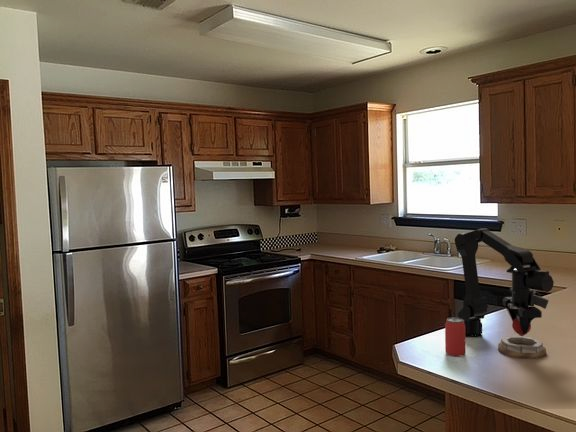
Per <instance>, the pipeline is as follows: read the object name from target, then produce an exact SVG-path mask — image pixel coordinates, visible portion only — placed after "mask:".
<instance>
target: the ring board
mask: <svg viewBox="0 0 576 432" xmlns="http://www.w3.org/2000/svg"><path fill="white" fill-rule="evenodd" d="M497 350H498V352H499V353H501V354H503V355H505V356H508V357H512V358H517V359H526V360H533V359H536V360H537V359H541V358H544V357H546V356H547V349H546V347H545V346H544V343H543V342H542V341H541V340H539V339H537V338H534V337H528V336H525V335H524V336H520V335H508V336H505V337H503V338H501V339H500V342H499V343H498V344H497Z"/></svg>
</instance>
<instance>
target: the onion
mask: <svg viewBox="0 0 576 432" xmlns="http://www.w3.org/2000/svg"><path fill="white" fill-rule="evenodd" d="M511 326H512V329H513V331H514V332H515V333H516V334H518V336H524V337H525V335H526V334H523V332H522V330H521V327H520V324H519V321H518V318H517V317H516V318H515V319H514V321H512V324H511ZM531 329H532V323H530V326H529V329H528V332H527V334H528V333H529V332H530V331H531Z"/></svg>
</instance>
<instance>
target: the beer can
mask: <svg viewBox="0 0 576 432" xmlns="http://www.w3.org/2000/svg"><path fill="white" fill-rule="evenodd" d="M463 321H464V320H463V319H460V318H459V317H448V318H446V322H445V324H444V337H445V341H444V342H445V344H444V345H445V353H446V354H447V355H448V356H450V357H451V356H452V357H459V358H460V357H462V356H463V357H464V356H465V355H466V353H467V349H466V348H467V347H466V336H465V324H464V322H463Z"/></svg>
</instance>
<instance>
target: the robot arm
mask: <svg viewBox="0 0 576 432" xmlns="http://www.w3.org/2000/svg"><path fill="white" fill-rule="evenodd" d="M479 243H483V244H485V245H487V246H488V247H489V248H491V249H493V251H496V252H497V253H499V254H500V255H501V256H503V259H504V261H505V262H506V263H507V264H508V265H509V266H510V267H509V268H508V269H506V273H508V274H509V273H510V274H511V288H509V292H511V296H505V297H504V298H503V299H502V305H503V306H504V307H505V310H506V311H507V312H508V315H509V317H510V319H511V322H513V321H514V319H515V318H516V317H517V318H518V321H519V324H520V327H521V330H522V332H523V334H525V335H527V334H528V333H529V332H528V329H529V326H530V323H531V322H532V321H533V320H535V319H540V318H541V319H542V317H543V313H542V312H543V311H542V310H540V308H542V309H547V307H548V303H549V299H547V298H545V297H542V296H541V294H540V293H539V292H544V293H550V292H551V291H552V289H553V288H554V283H555V281H554V279H553V277H552V275H550V271H549V270H541V268H540V266H539V264H538V262H537V261H536V259H535V258H534V255H533V253H532V252H531V250H528V249H525V248H524V247H520V246H515V245H513V244H511V243H509V242H508V241H506V240H504V239H502V238H501V237H499V236H498V235H496V234H494V232H492V231H490V229H489V228H486V227H485V228H484V227H483V228H477V229H475V230H472V231H469V232H463V233H462V232H461V233H458V234H456V236H455V238H454V244H455V248H456V251H457V252H458V253H459V255H460V256H461V262H462V268H463V277H464V285H465V295H464V298H463V301H462V306H463V307H462V308H461V310H459V311H458V313H457V318H460V319H463V320H464V321H463V322H464V324H465V338H466V337H467V338H468V337H469V338H470V337H471V338H472V337H483V322H482V319H485V315H486V313H488V308H489V305H488V298H487V297H486V296H483V294H482V293H481V291H480V284H479V283H480V282H479V276H478V268H477V259H476V254H477V252H478V249H479ZM537 291H538V292H537ZM536 306H537V307H536ZM538 307H540V308H538ZM531 324H532V323H531ZM527 332H528V333H527Z"/></svg>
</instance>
